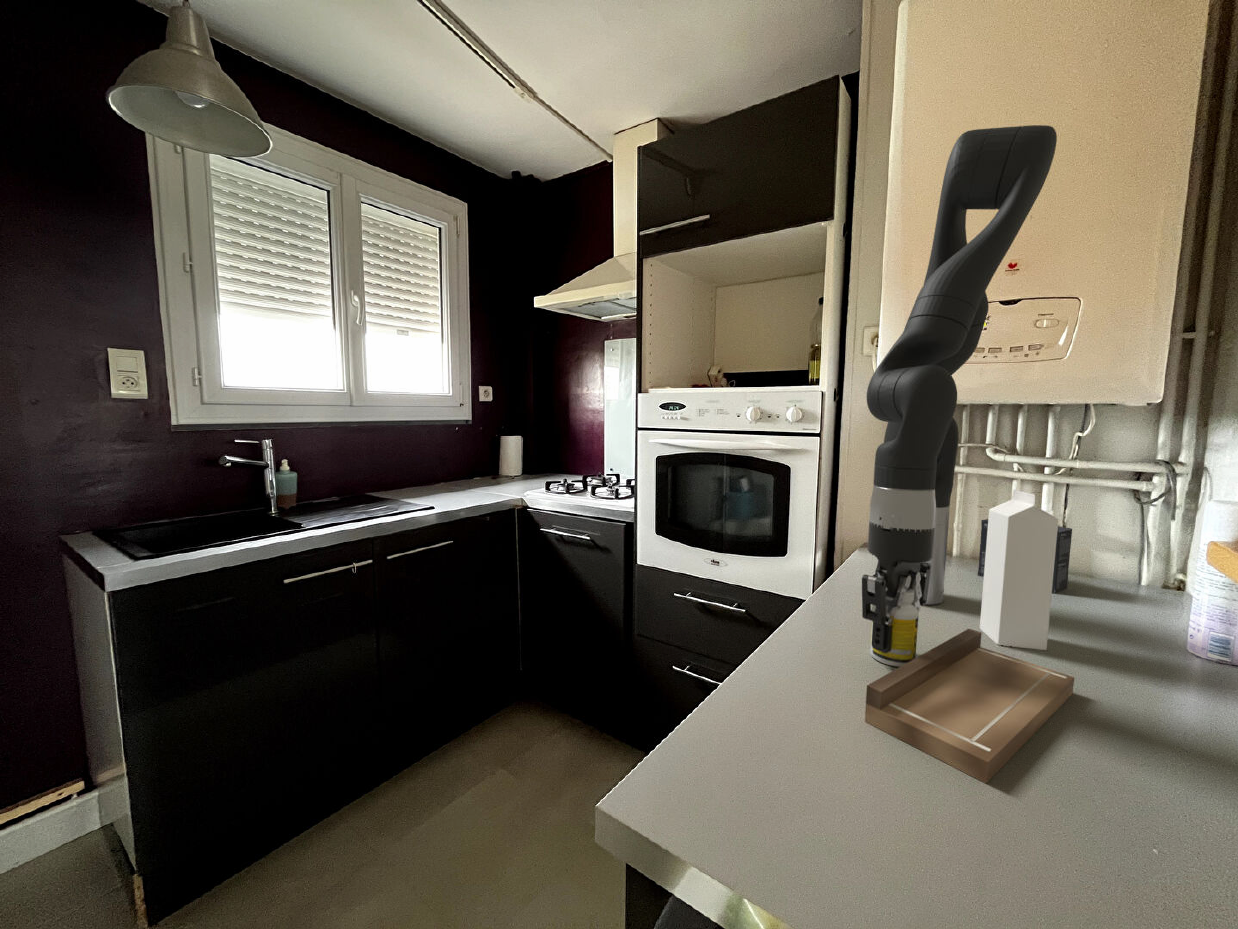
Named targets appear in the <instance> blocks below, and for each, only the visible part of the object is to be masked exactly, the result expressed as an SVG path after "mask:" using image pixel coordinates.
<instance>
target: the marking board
mask: <svg viewBox="0 0 1238 929" xmlns="http://www.w3.org/2000/svg"><path fill="white" fill-rule="evenodd" d="M982 632H983V631H981V632H980V631H978V630H974V629H971V628H967V629H965V630H964V631H961V632H960V633H958V634H956V635H955V636H953V637H951V638H949V639H948V640H946V641H943V642H942V643H941V644H938V645H937V646H935V647H933V648H932V649H930V650H928V651H926V652H924V653H923V654H921V655H918V656H916V658H915V659H913V660H912V661H910V662H908V663H906V664H904V665H903V666H901V667H897V668H896V669H894V670H892V671H891V672H888V673H887V674H885V675H883V676H881V677H879V678H878V679H876V680H874V681H873V682H870V683H869V684H867V685H866V694H865V712H864V722H865V723H867V724H869V725H871V726H873V727H875V728H877V729H879V730H881V731H883V732H884V733H886V734H888V735H891V736H892V737H894V738H897V739H898V740H900V741H903V742H904V743H906V744H908V745H910V746H913V747H914V748H916V749H918V750H920V751H922V752H924V753H926V754H927V755H929V756H932V757H933V758H936V759H937V760H939V761H941V762H943V763H946V764H947V765H949V766H951V767H953V768H955V769H957V770H959V771H961V772H963V773H965V774H966V775H969V776H971V777H973V778H975V779H977V780H979V781H980V782H982V783H985V784H988V783H989V782H990V780H991V779H993V778H994V777H995V775H996V774H997V773H998V772H999V771H1000V770H1001V769H1002V768H1003V767H1004V766H1006V764H1007V763H1008V762H1009V761H1010V760H1011V759H1012V757H1013V756H1015V754H1016V753H1017V752H1019V750H1021V749H1022V747H1023V746H1024V745H1025V744H1026V743H1027V742H1028V741H1029V740H1030V739H1032V737H1033V736H1034V735H1035V734H1036V732H1037V731H1038V730H1039V729H1040V728H1041V727H1042V726H1043V725H1044V724H1046V723H1047V722H1048V720H1049V719H1050V718H1051V717H1052V716H1053V715H1054V713H1056V712H1057V710H1059V709H1060V707H1062V706H1063V704H1065V703H1066V702H1067V701H1068V699H1069V698H1070V697H1071V696H1072V695H1073V694H1074V687H1075V686H1074V685H1075V677H1074V676H1071V675H1068V674H1065V673H1062V672H1059V671H1056V670H1053V669H1050V668H1046V667H1044V666H1043V667H1042V666H1040V665H1037V664H1034V663H1032V662H1031V663H1030V662H1028V661H1025V660H1022V659H1019V658H1016V657H1014V656H1013V657H1012V656H1009V655H1006V654H1003V653H1000V652H998V651H994V650H991V649H989V648H985V647H982V646H981V644H982V634H983V633H982Z"/></svg>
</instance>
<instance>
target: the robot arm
mask: <svg viewBox="0 0 1238 929" xmlns="http://www.w3.org/2000/svg"><path fill="white" fill-rule="evenodd" d="M1057 137H1058V135H1057V132H1056V129H1055V128H1054V126H1051V125H1045V124H1042V125H1041V124H1039V125H1031V124H1030V125H1018V126H1017V125H1016V126H1008V127H1007V126H1005V127H1004V126H1003V127H991V128H978V129H971V130H967V131H965V132H963V133H962V134H961V135H959V137H958V138H957V139H956V142H955V143H954V144H953V147H952V149H951V151H950V153H949V156H948V157H949V158H948V160H947V163H946V167H945V172H944V175H943V180H942V184H941V185H942V186H941V192H940V197H939V198H940V199H939V201H938V202H939V204H938V210H937V215H936V216H937V217H936V222H935V226H934V227H935V228H934V233H933V239H932V246H931V250H930V256H929V261H928V264H927V270H926V273H925V278H924V281H923V285H922V287H921V289H920V290H919V293H918V295H917V297H916V300H915V301H914V304H913V306H912V309H911V311H910V312H909V313H910V314H909V317H908V318H907V321H906V323H905V326H904V329H903V331H902V333H901V335H900V336H899V337H898V339H897V340H896V341H895V342H894V344H892V346H891V348H889V350H888V352H887V353H886V355H885V356H884V358H883V359H882V360H881V362H880V363H879V365H878V366H877V368H876V369H875V370H874V372H873V374H872V376H871V378H870V381H869V383H868V386H867V391H866V404H867V408H868V410H869V412H870V414H871V415H872V416H873V417H874V418H876V419H877V420H878V421H882V422H885V423H886V429H885V432H884V438H883V442H882V443H880V445H878V446H877V447H876V451H875V454H874V469H873V487H872V491H871V497H870V503H869V505H870V506H869V519H868V536H867V537H868V538H867V551H868V553H870V554H871V555H872V556H874V557H875V558H876V559H877V565H876V569H875V571H874V572H875V573H874V574H873V575H868V574H863V575H862V576H861V597H862V598H861V603H862V604H861V607H862V608H861V609H862V610H861V611H862V619H865V620H868V621H871V622H872V621H873V629H872V647H873V648H874V649H876V650H878V651H881V652H884V653H888V652H890V651H891V645H892V629H893V625H892V623H893V619H894V616H895V612H896V610H899V609H900V608H901V606H902V603H903V599H904V596H905V592H906V590H909V589H913V590H914V600H913V602H912V603H911V604H912V605H913V606H915V607H916V608H917V610H918V613H920V612H921V606H922V607H925V606H926V605H939V604H941V603H943V601H944V592H945V579H946V578H945V577H946V576H945V575H946V563H947V562H946V561H947V549H948V534H949V519H950V505H951V496H952V492H953V487H954V478H955V468H956V463H957V457H958V455H957V454H958V449H959V435H960V434H959V426H958V424H957V420H956V419H955V417H954V414H955V411H956V408H957V402H958V390H957V389H958V388H957V384H956V381H955V379H954V378H953V375H954V374H955V373H956V372H957V371H959V369H960V368H962V366H963V365H965V364H966V363H967V361H969V359H971V357H972V356H973V354H974V353H975V351H976V349H977V347H978V345H979V341H980V338H981V336H982V332H983V330H984V326H985V324H986V323H985V322H986V320H987V315H988V313H989V300H988V295H987V293H986V290H987V288H988V287H989V285H990V283H991V282H992V279H993V277H994V276H995V273H996V272H997V270H998V269H999V267H1000V265H1001V263H1002V261H1003V259H1004V258H1005V257H1006V255H1007V253H1008V251H1009V249H1011V246H1012V244H1013V243H1014V241H1015V239H1016V237H1017V235H1018V233H1019V232H1020V230H1021V228H1022V226H1023V224H1024V223H1025V221H1026V219H1027V217H1028V215H1029V213H1031V212H1030V211H1031V210H1032V208H1033V206H1034V204H1035V202H1036V201H1037V198H1038V197H1039V195H1040V193H1041V191H1042V189H1043V186H1044V184H1045V182H1046V179H1047V177H1048V175H1049V172H1050V169H1051V167H1052V164H1053V161H1054V157H1055V154H1056V153H1055V152H1056V148H1057V147H1056V146H1057V140H1058V139H1057ZM968 210H981V211H982V210H984V211H985V210H997V212H996V213H995V215H994V217H993V218H991V220H990V222H989V223H988V224H987V225H986V226H985V227H984V228H983V229H981V231H980V232H978V234H977V235H976V236H974V238H973V239H971V240H970V241H968V240H967V231H966V230H967V229H966V226H967V225H966V224H967V223H966V220H967V213H968V212H967V211H968ZM886 596H887V597H890V598H894V600H887V599H886ZM886 606H888V610H887V614H886Z"/></svg>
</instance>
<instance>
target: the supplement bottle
mask: <svg viewBox="0 0 1238 929" xmlns="http://www.w3.org/2000/svg"><path fill="white" fill-rule="evenodd" d="M886 599H887V600H894V598H890V597H887V596H886ZM913 600H914V590H913V589H909V590H906V592H905V596H904V599H903V603H902V606H901V608H900V609H899V610H896V612H895V616H894V619H893V623H892V625H893V629H892V645H891V651H890V652H888V653H884V652H881V651H878V650H876V649H874V648H873V647H872V629H873V621H871V629H870V644H869V645H870V646H869V653H870V656H871V657H872V658H873V659H875V660H876V661H878V662H879V663H882V664H885V665H888V666H892V667H897V668H899V667H901V666H903V665H904V664H906V663H908V662H910V661H912V660H913V659H915V658H917V642H918V640H917V639H918V628H919V627H918V626H919V613H920V612H919V613H918V610H917V608H916V607H915V606H913V605H912V604H911V603H912V602H913ZM887 610H888V606H886V614H887Z"/></svg>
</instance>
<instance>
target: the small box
mask: <svg viewBox="0 0 1238 929" xmlns="http://www.w3.org/2000/svg"><path fill="white" fill-rule="evenodd" d="M980 522H981V529H980V542H979V543H980V545H979V554H978V555H979V556H978V557H979V558H978V570H977V576H978V577H982V578H984V568H985V555H986V543H987V530H988V518H986V519H982V520H981V521H980ZM1072 536H1073V528H1072V527H1071V528H1070V527H1066V526H1059V525H1058V529H1057V540H1056V551H1055V562H1054V573H1053V584H1052V593H1054V594H1055V593H1057V592H1059V591H1060V592H1061V591H1063V590H1065V589H1067V588H1068V581H1069V566H1070V558H1071V549H1072V548H1071V547H1072V546H1071V545H1072Z"/></svg>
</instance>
